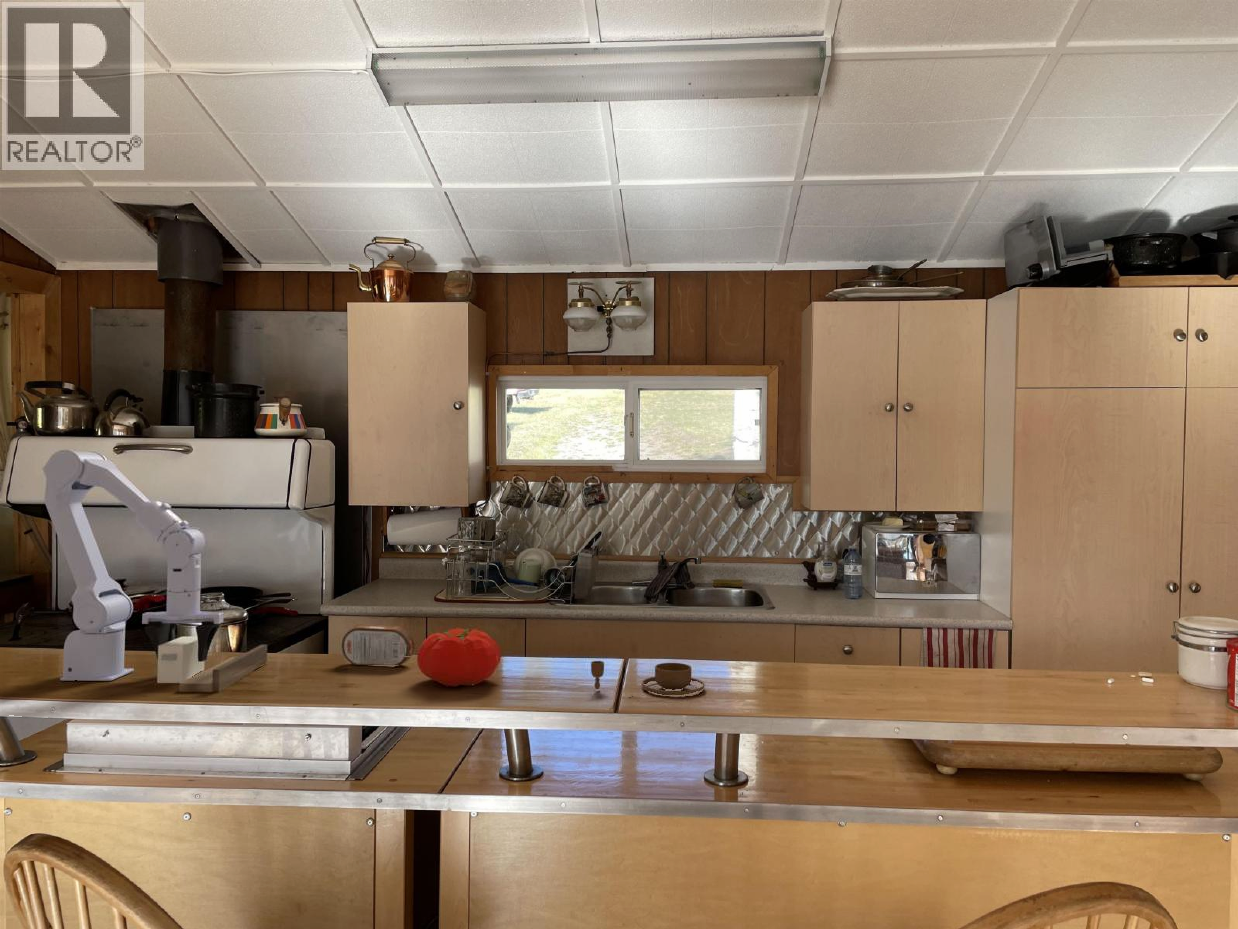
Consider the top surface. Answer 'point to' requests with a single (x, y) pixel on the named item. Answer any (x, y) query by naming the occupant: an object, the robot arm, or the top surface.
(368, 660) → the tin
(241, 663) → the ledge board
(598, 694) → the top surface
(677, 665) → the place setting
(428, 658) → the tomato
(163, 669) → the cabinet block
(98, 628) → the robot arm
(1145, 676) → the top surface
